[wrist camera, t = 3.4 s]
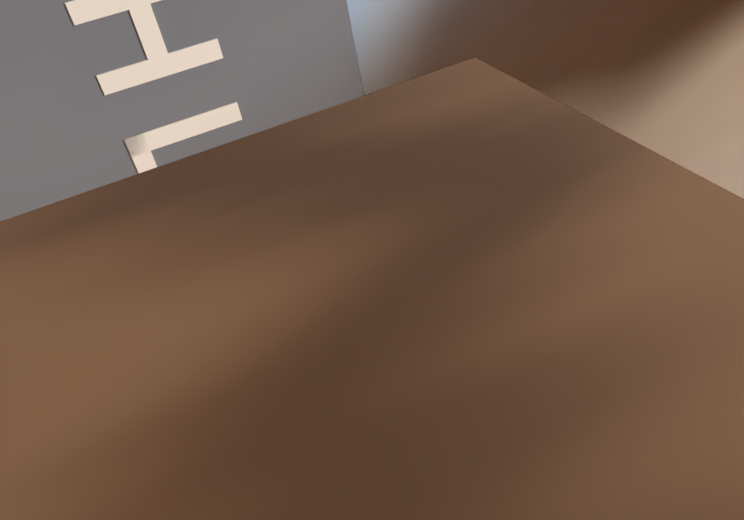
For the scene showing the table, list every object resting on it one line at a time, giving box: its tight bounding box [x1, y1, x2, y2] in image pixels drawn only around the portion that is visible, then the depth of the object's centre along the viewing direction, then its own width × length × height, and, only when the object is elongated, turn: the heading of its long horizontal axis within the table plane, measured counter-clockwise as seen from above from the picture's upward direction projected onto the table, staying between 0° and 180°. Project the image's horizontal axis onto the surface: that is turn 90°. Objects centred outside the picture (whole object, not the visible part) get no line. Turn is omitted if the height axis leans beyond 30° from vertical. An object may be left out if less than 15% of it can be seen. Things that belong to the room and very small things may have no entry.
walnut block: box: [0, 58, 744, 520], centre depth 7 cm, size 6×6×6 cm
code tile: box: [0, 0, 364, 221], centre depth 17 cm, size 10×10×1 cm
